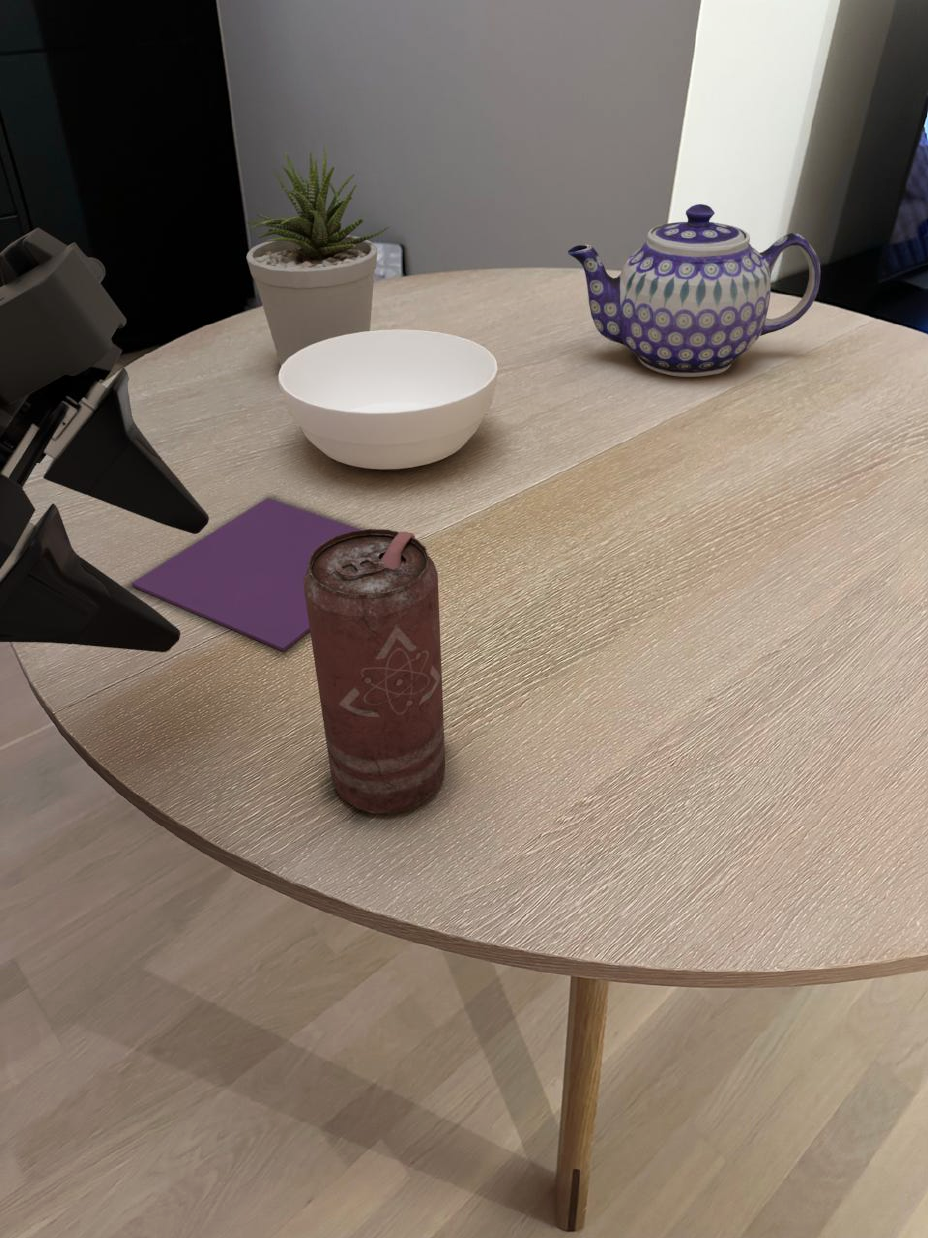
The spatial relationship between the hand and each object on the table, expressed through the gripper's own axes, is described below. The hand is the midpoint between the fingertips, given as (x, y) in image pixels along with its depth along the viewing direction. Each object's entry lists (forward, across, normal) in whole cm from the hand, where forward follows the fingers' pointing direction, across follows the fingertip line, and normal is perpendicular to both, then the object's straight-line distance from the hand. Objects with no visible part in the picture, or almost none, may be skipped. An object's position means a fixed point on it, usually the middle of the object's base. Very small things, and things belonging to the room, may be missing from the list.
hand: (190, 579), depth 41 cm
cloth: (+10, +21, +9) cm, 25 cm away
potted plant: (+12, +59, +7) cm, 61 cm away
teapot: (+38, +56, -19) cm, 70 cm away
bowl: (+16, +39, +3) cm, 43 cm away
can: (+15, 0, +4) cm, 16 cm away
